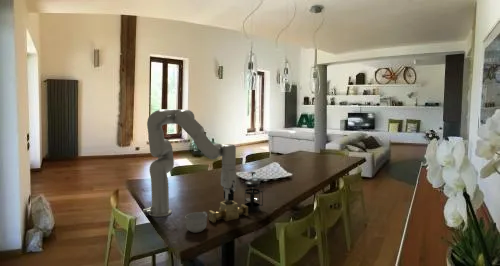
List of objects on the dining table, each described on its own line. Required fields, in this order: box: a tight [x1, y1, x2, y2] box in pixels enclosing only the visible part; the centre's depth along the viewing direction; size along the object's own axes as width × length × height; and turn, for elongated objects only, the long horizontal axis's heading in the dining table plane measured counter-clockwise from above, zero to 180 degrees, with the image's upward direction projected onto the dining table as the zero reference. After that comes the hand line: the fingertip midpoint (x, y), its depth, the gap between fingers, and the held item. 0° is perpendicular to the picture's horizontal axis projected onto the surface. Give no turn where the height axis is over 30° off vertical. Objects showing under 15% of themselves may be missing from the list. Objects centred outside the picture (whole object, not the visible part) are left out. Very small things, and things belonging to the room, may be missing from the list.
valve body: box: [208, 200, 249, 224], centre depth 186 cm, size 22×8×8 cm, turn 123°
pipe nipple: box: [224, 187, 233, 205], centre depth 186 cm, size 4×4×12 cm
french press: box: [244, 171, 264, 213], centre depth 199 cm, size 12×9×23 cm
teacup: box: [184, 211, 209, 234], centre depth 169 cm, size 14×11×8 cm
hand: (228, 199), depth 186 cm, fingers closed on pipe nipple, 4 cm apart
